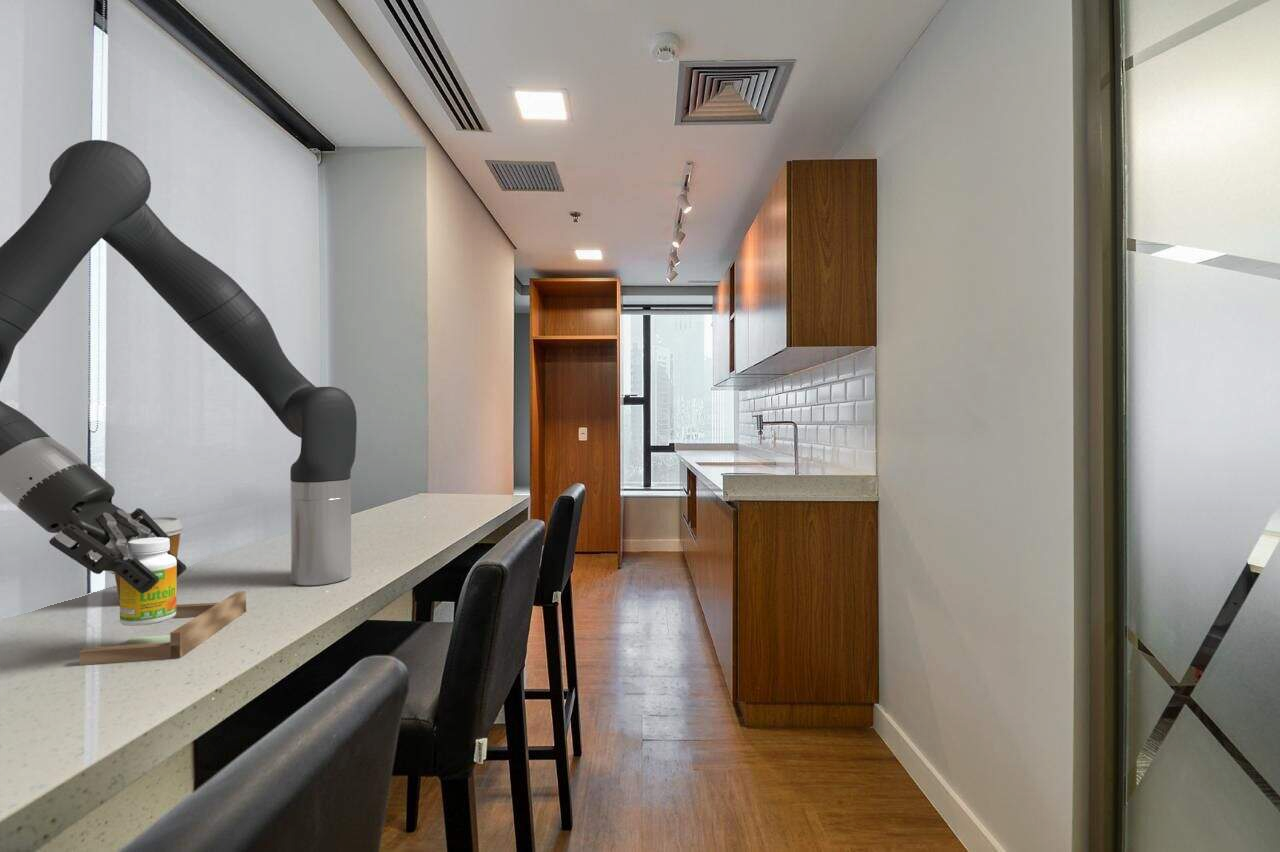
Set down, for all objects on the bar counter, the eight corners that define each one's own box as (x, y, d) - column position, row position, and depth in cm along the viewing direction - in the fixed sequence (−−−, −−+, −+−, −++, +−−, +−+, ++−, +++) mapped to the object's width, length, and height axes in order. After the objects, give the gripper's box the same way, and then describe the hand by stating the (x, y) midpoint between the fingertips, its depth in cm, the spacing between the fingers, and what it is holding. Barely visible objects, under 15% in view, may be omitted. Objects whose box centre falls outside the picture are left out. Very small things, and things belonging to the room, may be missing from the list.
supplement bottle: (138, 629, 71) (138, 546, 71) (109, 623, 73) (109, 542, 72) (186, 615, 76) (187, 537, 76) (158, 610, 78) (158, 534, 78)
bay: (166, 615, 86) (166, 594, 86) (246, 611, 88) (245, 590, 88) (79, 664, 69) (79, 638, 69) (180, 657, 71) (179, 632, 71)
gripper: (30, 466, 65) (157, 572, 68) (117, 458, 80) (219, 546, 82) (-28, 516, 64) (102, 622, 67) (69, 499, 79) (174, 587, 81)
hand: (166, 580), depth 74 cm, fingers closed on supplement bottle, 5 cm apart
